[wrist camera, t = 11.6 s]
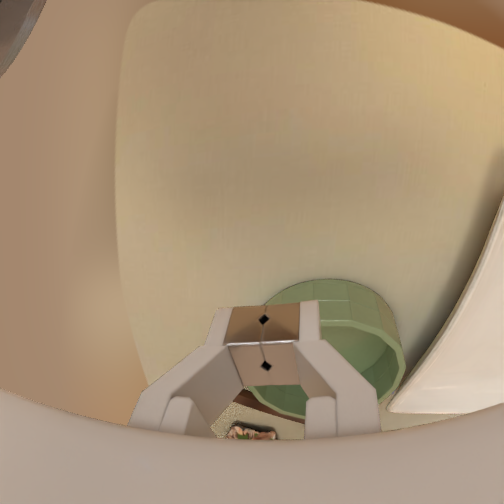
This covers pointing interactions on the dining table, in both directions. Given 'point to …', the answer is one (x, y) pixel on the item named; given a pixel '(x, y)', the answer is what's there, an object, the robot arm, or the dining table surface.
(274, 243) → the dining table surface
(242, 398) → the wooden paddle
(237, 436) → the plant with pod
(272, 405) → the bowl
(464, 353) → the square plate
